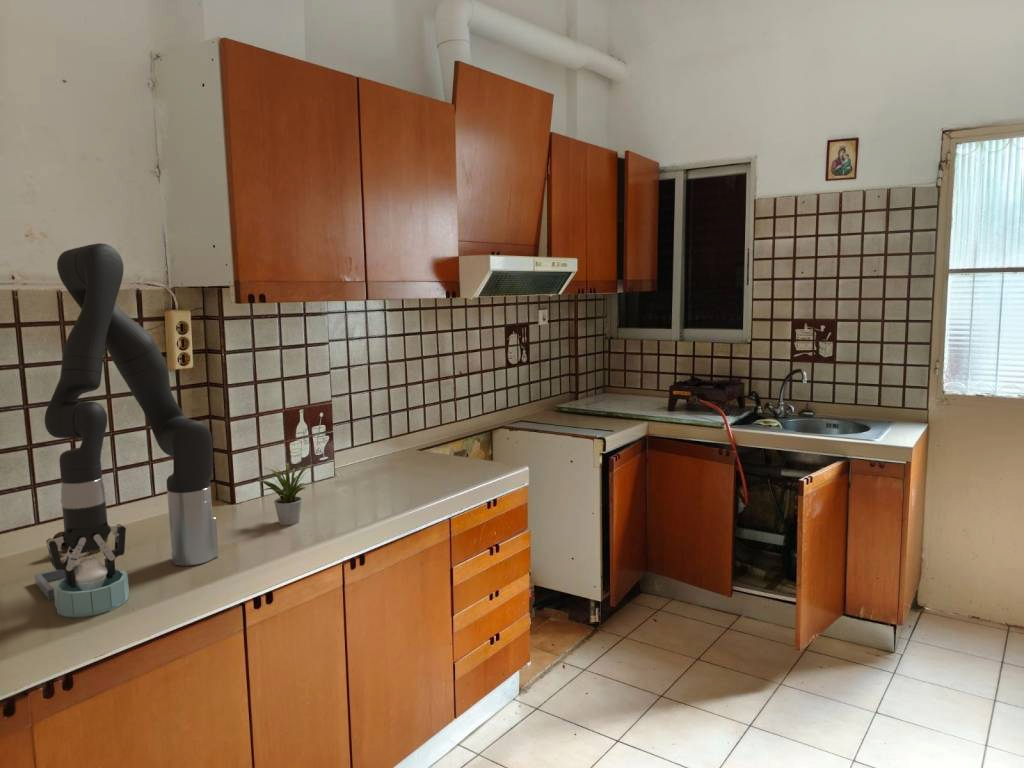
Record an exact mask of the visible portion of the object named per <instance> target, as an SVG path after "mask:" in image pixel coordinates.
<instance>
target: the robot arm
mask: <svg viewBox="0 0 1024 768" xmlns="http://www.w3.org/2000/svg"><path fill="white" fill-rule="evenodd" d="M56 262H57V263H56V267H57V273H58V276H59V278H60V280H61V282H62V285H63V286H64V288H65V289H66V290H67V291H68V294H70V296H71V297H72V298H73V299H74V302H76V303H77V305H78V307H79V308H80V309H81V310H80V313H79V315H78V317H77V319H76V321H75V323H74V324H73V327H72V328H71V330H70V332H69V334H68V335H67V338H66V341H65V343H64V346H63V347H64V348H63V351H62V357H61V367H60V376H59V377H60V378H59V380H58V382H57V384H56V388H55V389H54V392H53V395H52V396H51V399H50V401H49V403H48V405H47V408H46V410H45V414H44V426H45V429H46V431H47V433H48V434H49V435H50V436H52V437H54V438H58V439H76V438H78V439H81V444H80V445H79V447H77V448H72V449H69V450H65V451H63V452H62V453H61V454H60V455H59V471H60V472H59V473H60V482H61V486H60V503H61V508H62V519H63V528H64V529H63V532H64V533H63V535H62V537H59V538H56V539H53V538H48V539H47V540H46V545H47V549H48V554H49V557H50V562H51V565H52V567H53V568H54V570H64V576H65V583H66V584H67V585H68V586H70V587H71V588H75V587H76V585H75V574H74V569H73V566H74V565H76V562H77V560H79V556H80V555H81V554H84V553H88V552H90V551H94V550H98V549H99V550H100V551H101V553H102V554H103V555H104V556H105V558H104V566H105V567H106V568H107V570H108V572H107V575H106V577H107V578H108V579H110V578H113V575H115V568H116V562H115V561H116V558H118V557H119V556H123V555H124V554H125V546H126V532H127V529H126V527H125V526H124V525H122V524H121V523H117V524H116V525H112V526H110V525H109V523H108V513H107V512H108V511H107V502H106V501H107V500H106V492H105V484H104V481H103V472H102V471H103V470H102V462H101V457H102V449H103V445H104V438H105V435H106V430H107V427H108V426H107V425H108V414H107V411H106V409H105V408H104V407H103V405H102V404H100V403H99V402H97V401H77V400H78V399H79V397H80V396H81V395H83V394H85V393H89V392H93V391H96V390H98V389H99V388H100V386H101V382H102V375H103V363H104V353H105V348H106V350H107V352H108V354H109V356H110V357H111V360H112V363H114V365H115V368H117V371H118V372H119V374H120V376H121V377H122V379H123V380H124V382H125V384H126V386H128V389H129V391H130V392H131V394H132V395H133V397H134V399H135V400H136V401H137V403H138V405H139V406H140V408H141V409H142V412H143V413H144V416H145V417H146V419H147V422H148V423H149V424H148V425H149V426H150V429H151V431H152V434H153V436H154V438H155V441H156V443H157V445H158V447H159V448H160V450H161V451H163V453H164V454H166V455H168V456H169V457H172V458H173V461H172V463H173V472H172V474H171V475H169V476H168V477H167V479H166V492H167V493H166V495H167V507H168V519H169V531H170V532H169V535H170V543H171V544H170V547H171V558H172V564H174V565H176V566H182V567H184V566H186V567H187V566H188V567H189V566H196V565H200V564H205V563H207V562H210V561H211V560H213V559H215V558H219V546H218V545H219V544H218V532H217V531H218V530H217V529H218V527H217V518H216V517H215V516H213V507H212V506H213V505H212V504H213V503H212V490H211V477H212V475H213V472H214V471H213V470H214V458H213V457H214V455H213V454H214V451H213V450H214V449H213V446H214V445H213V437H212V434H211V431H210V428H209V427H208V425H206V424H205V423H204V422H202V421H199V420H196V419H190V418H187V416H186V415H185V414H184V412H183V410H182V409H181V407H180V406H179V404H178V403H177V401H176V400H175V397H174V395H173V393H172V388H171V384H170V383H171V382H170V381H171V380H170V375H169V374H170V373H169V369H168V365H167V362H166V360H165V358H164V356H163V354H162V352H161V350H160V348H159V346H158V344H157V343H156V341H155V340H154V338H153V337H152V335H151V334H150V333H149V332H148V331H147V330H146V329H145V328H144V327H142V326H141V325H140V324H139V323H137V321H135V320H134V319H132V318H131V317H130V316H129V315H128V314H126V313H125V312H124V311H123V310H122V309H121V308H120V307H119V306H118V305H117V304H116V303H117V299H118V296H119V292H120V289H121V285H122V281H123V279H124V278H123V277H124V268H125V267H124V262H123V259H122V257H121V254H120V253H119V252H118V250H117V249H116V248H114V247H113V246H111V245H110V244H107V243H101V242H100V243H98V242H97V243H93V244H87V245H84V246H79V247H75V248H71V249H67V250H65V251H63V252H62V253H60V255H59V256H58V259H57V261H56ZM111 533H112V536H114V549H112V550H111V548H110V547H109V546H108V545H107V543H105V540H106V538H107V537H108V538H109V536H110V534H111ZM63 542H65V543H66V544H67V545H69V546H70V547H69V549H68V552H66V557H65V559H64V560H63V561H62V560H61V556H60V553H59V550H61V549H60V548H61V544H62V543H63ZM99 550H98V551H99Z"/></svg>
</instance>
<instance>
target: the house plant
mask: <svg viewBox="0 0 1024 768" xmlns="http://www.w3.org/2000/svg"><path fill="white" fill-rule="evenodd" d="M310 466H314V464H313V463H312V464H309V465H306V466H305V467H303V465H300V466H298V467H297V468H295V467H294V468H293V469H292V473H291V476H290V471H291V469H290V468H291V466H290V463H289V462H287V463H286V465H285V473H284V475H285V476H284V475H283V473H282V472H281V470H279V469H278V468H276V467H274V466H273V468H275V469H276V470H273V469H270V468H266V467H265V468H264V469H266V470H268V471H270V472H271V473H273V474H274V476H275V477H276V478H277V480H278V481H277V480H275V478H274V477H272V476H271V475H269V477H271V478H272V479H273V480H274V481H275V482H276V483H277V484H279V486H280V487H279V486H278V485H277V484H275V483H272V482H270V481H268V480H263V479H258V482H261V483H263V484H264V485H266V487H267V488H264V489H263V490H262V492H264V491H266V490H267V491H269V490H272V491H274V492H275V493H276V494H277V495H278V496H279V498H276V499H275V500H274V502H273V503H274V507H275V510H276V515H277V519H278V523H279V525H281V526H292V525H296V524H298V523H300V518H301V510H302V500H303V498H302V497H300V496H297V494H298V493H299V492H300V491H303V490H304V491H305V489H306V487H303V486H305V485H306V483H303V482H301V483H299V482H300V481H301V479H303V477H304V476H305V475H306V473H308V471H306V470H307V469H308V468H309V467H310ZM301 467H303V468H301ZM299 468H301V470H300V472H299V473H298V475H296V476H295V473H296V471H297V470H298V469H299ZM305 471H306V472H305ZM304 472H305V473H304ZM303 473H304V474H303ZM262 474H264V475H266V476H268V474H267V473H265V472H262ZM302 474H303V475H302ZM290 479H291V480H290ZM262 492H261V493H262Z"/></svg>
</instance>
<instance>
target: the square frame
mask: <svg viewBox="0 0 1024 768" xmlns="http://www.w3.org/2000/svg"><path fill="white" fill-rule="evenodd" d="M78 566H79V563H78V564H74V566H73V569H74V572H75V571H76V570H77V568H78ZM63 578H65V576H64V570H56V569H53V570H52V569H51V570H48V571H43V572H38V573H35V574H34V580H35V581H34V582H35V584H36V586H37V587H38V588H39V589H40V590H41V592H42V593H43V594H44V596H45V597H46V598H47V600H48V601H50V600H53V599H54V600H55V598H54V588H53V587H52V585H51V584H50V583H49V582H52V581H57V580H61V579H63Z"/></svg>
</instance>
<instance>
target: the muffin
mask: <svg viewBox="0 0 1024 768" xmlns="http://www.w3.org/2000/svg"><path fill="white" fill-rule="evenodd" d="M78 564H79V566H78V568H77V570H76V571H75V572H74V574H75V583H76V584H77V585H78V587H79V588H80V589H81V590H82V591H87V590H93V589H97V588H101V587H102V585H103V583H104V581H105V578H106V575H107V572H108V570H107V568H106V567H105V564H104V565H103V563H102V562H100V558H99V557H96V556H87V557H84V558H82V559H81V560H80V561H79V563H78Z"/></svg>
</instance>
